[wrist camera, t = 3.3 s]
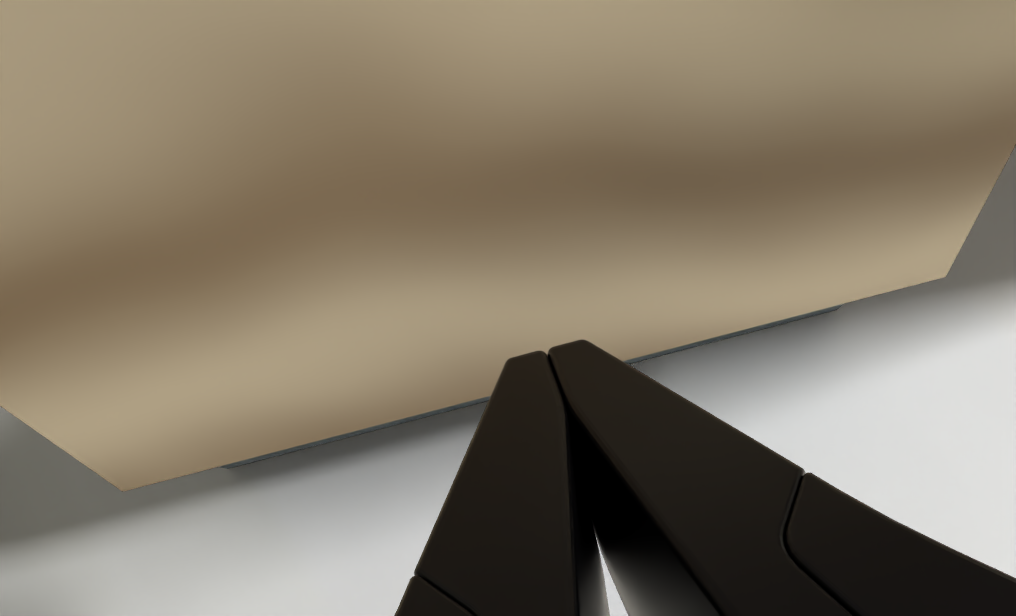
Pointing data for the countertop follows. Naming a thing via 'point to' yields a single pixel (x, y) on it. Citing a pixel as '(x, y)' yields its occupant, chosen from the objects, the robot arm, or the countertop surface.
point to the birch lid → (451, 196)
